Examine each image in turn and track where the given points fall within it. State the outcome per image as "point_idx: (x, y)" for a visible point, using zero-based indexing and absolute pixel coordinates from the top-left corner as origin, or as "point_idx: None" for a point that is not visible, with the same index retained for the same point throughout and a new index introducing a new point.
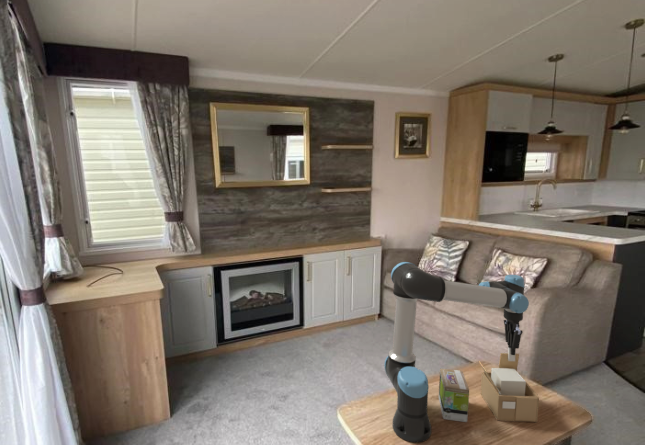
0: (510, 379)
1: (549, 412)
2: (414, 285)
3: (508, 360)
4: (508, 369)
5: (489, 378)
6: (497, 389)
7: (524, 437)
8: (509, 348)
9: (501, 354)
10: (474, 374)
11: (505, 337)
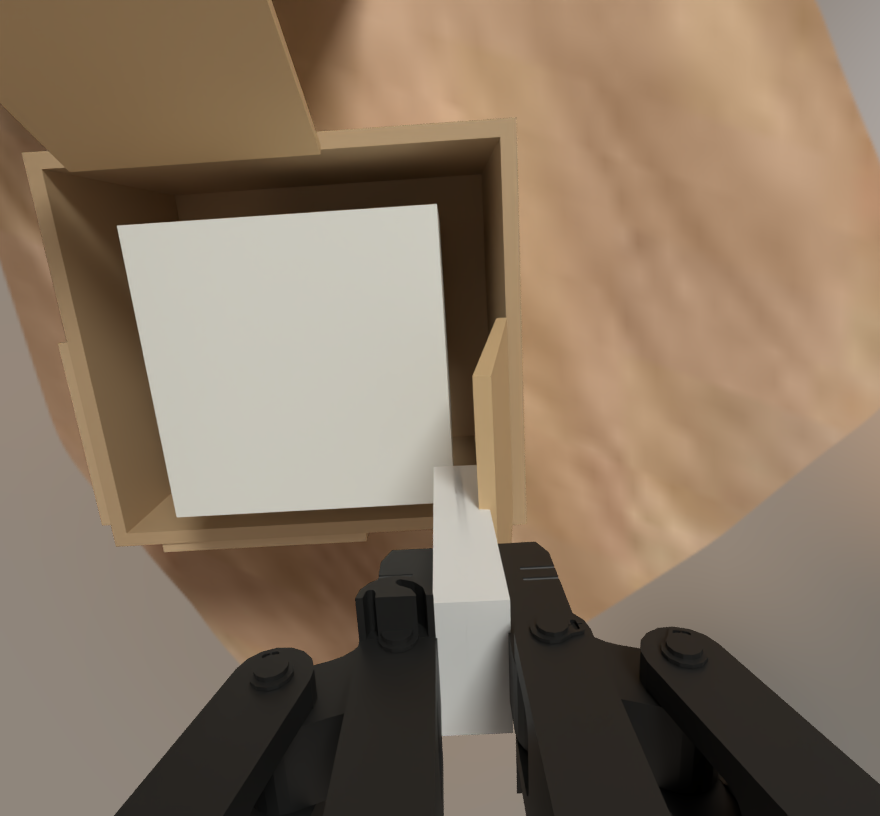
0: (177, 357)
1: (335, 573)
2: None
3: (447, 467)
4: (423, 423)
5: (78, 42)
6: (47, 148)
7: (34, 314)
8: (433, 587)
9: (476, 384)
10: (790, 202)
11: (792, 714)
